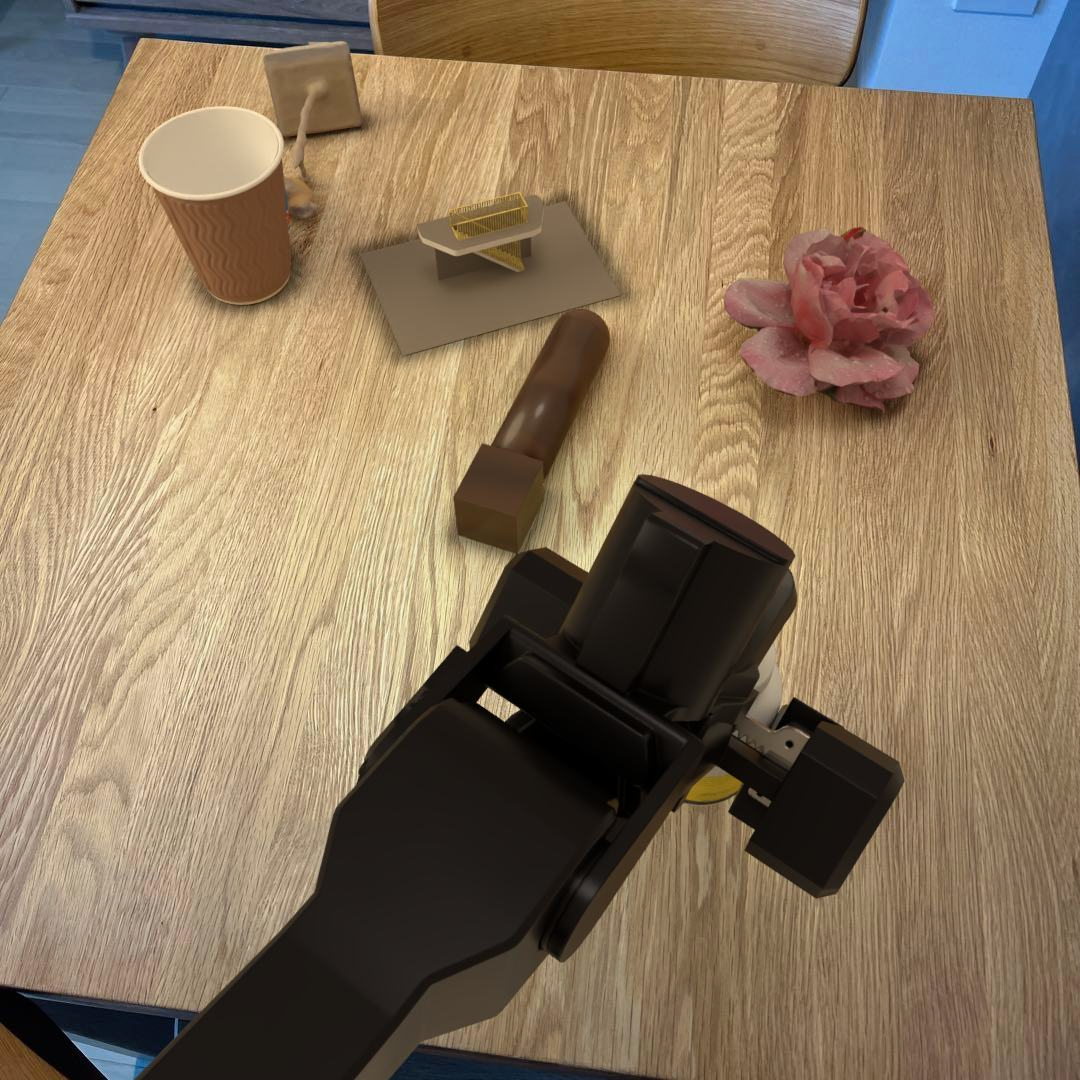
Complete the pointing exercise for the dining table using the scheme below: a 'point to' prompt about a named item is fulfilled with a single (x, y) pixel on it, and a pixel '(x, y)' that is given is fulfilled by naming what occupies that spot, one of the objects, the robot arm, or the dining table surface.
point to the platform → (486, 272)
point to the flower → (835, 320)
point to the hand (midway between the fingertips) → (725, 677)
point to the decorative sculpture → (311, 104)
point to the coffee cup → (224, 198)
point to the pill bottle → (764, 710)
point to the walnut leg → (531, 435)
